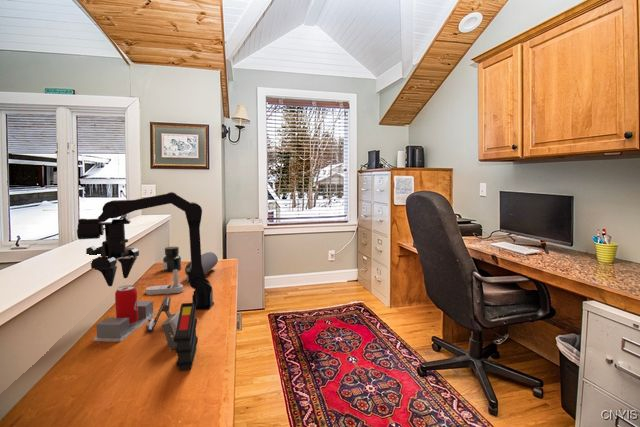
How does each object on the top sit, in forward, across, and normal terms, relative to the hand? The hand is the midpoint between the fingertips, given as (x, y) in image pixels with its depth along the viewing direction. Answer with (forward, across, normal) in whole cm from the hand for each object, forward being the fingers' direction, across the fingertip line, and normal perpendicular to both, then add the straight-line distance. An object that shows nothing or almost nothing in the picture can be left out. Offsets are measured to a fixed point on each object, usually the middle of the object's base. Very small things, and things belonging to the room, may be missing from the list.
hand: (118, 282), depth 117 cm
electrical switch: (+13, +19, +28) cm, 36 cm away
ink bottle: (+13, -64, -8) cm, 66 cm away
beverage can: (+12, +7, +6) cm, 15 cm away
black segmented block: (+13, +29, +34) cm, 47 cm away
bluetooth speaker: (+13, -55, +11) cm, 57 cm away
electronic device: (+13, -27, +4) cm, 31 cm away
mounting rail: (+13, +7, +6) cm, 16 cm away
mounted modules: (+13, +7, +6) cm, 16 cm away
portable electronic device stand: (+13, +7, +17) cm, 23 cm away
